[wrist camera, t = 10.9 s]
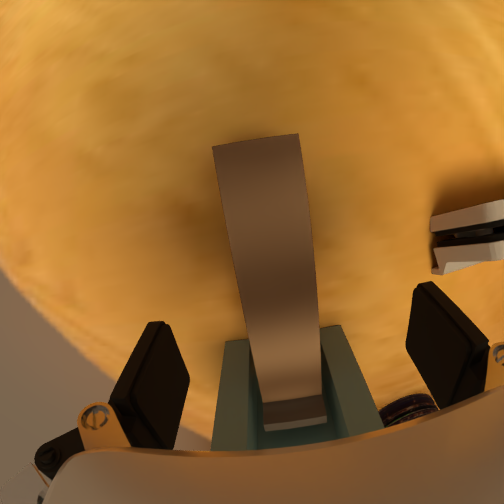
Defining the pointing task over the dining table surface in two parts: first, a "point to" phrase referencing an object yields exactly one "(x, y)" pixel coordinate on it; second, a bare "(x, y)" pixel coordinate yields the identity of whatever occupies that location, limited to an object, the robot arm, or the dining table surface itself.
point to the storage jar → (407, 409)
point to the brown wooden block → (275, 273)
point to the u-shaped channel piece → (337, 427)
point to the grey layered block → (468, 236)
